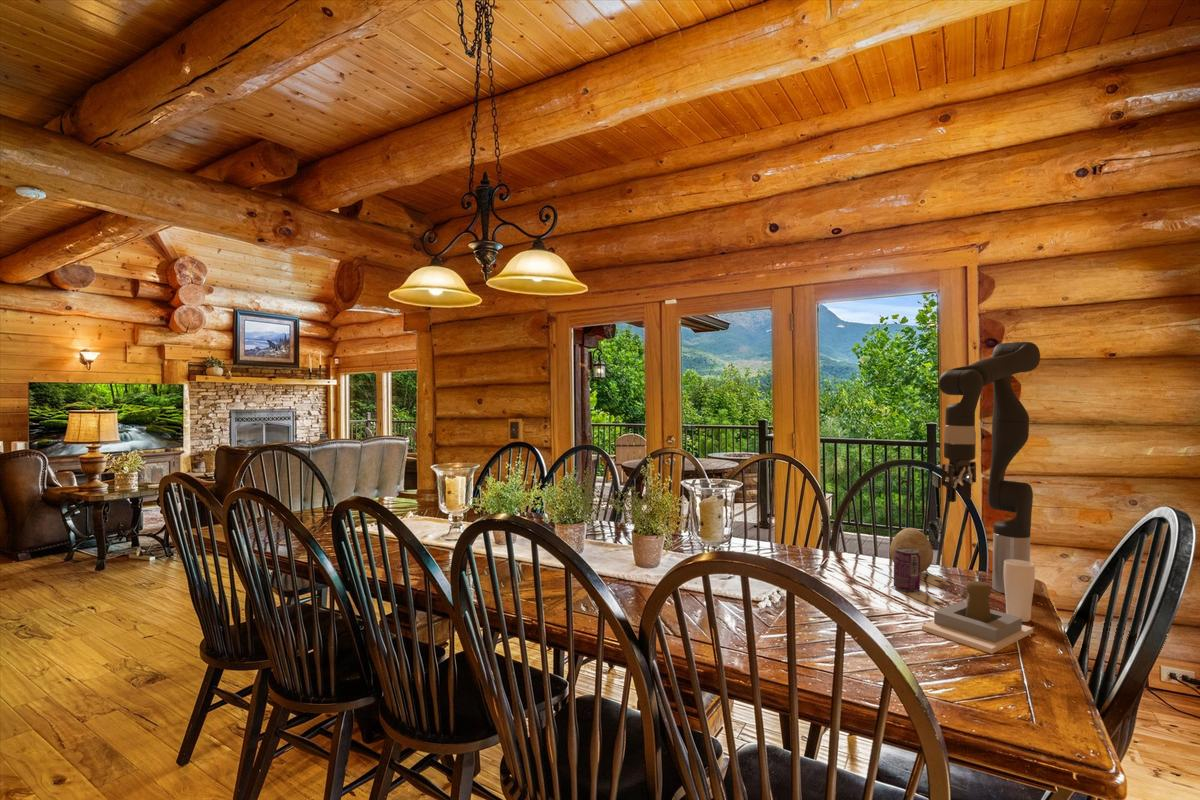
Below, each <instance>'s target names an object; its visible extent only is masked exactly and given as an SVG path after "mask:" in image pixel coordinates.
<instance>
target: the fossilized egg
mask: <svg viewBox="0 0 1200 800" xmlns="http://www.w3.org/2000/svg"><path fill="white" fill-rule="evenodd" d="M929 540H930V539H928V537H927V536H926V534H924V532H922V531H921V530H919V529H917V528H914V527H906V528H904V529H901V530H900V531H899V532H897V534H896V535H895V536H894V537H893V539H892V540H891V543H890V547H889V555H890V558H891V560H892V562H893V563H894V554H895V552H896V548H900V547H904V548H912V549H915V550H918V551H919V553H918V554H919V556H920V574H921V573H924V572H925V571H927V570H928V569H929V568H930V566H931V565H932V562H933V560H934V550H933V546H932V544H931V542H930V541H929Z"/></svg>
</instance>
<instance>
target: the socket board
mask: <svg viewBox="0 0 1200 800" xmlns="http://www.w3.org/2000/svg"><path fill="white" fill-rule="evenodd" d="M967 603H968V601H964V600H961V601H959V602H955V603H953V604H950V605H947V606H945V607H943V608H940V609H938V610H934V611H933V612H934V613H933V614H934V615H933V620H932V621H929V622H927V623H924V624H922V625H921V631H924V632H926V633H928V634H929V633H930V634H933V635H935V636H938V637H941V638H944V639H947V640H949V641H953V642H956V643H959V644H961V645H964V646H967V647H971V648H973V649H977V650H980V651H981V652H986V653H988V654H990V655H992V654H994V653H996V652H998V651H1000V650H1002V649H1004V648H1006V647H1008V646H1010V645H1011V644H1014V643H1016V642H1018V641H1019V640H1022V639H1023V638H1025V637H1028V636H1030V635H1032V634H1033V633H1034V627H1031V626H1028V625H1024V624H1022V623H1023V622H1022V618H1020V617H1016V616H1013V615H1009V614H1006V612H1001V611H998V610H995V609H991V608H990V614H991V621H992V622H990V623H984V622H981V621H978V620H974V619H971V618H968V617H965V615H966V609H967Z"/></svg>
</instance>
